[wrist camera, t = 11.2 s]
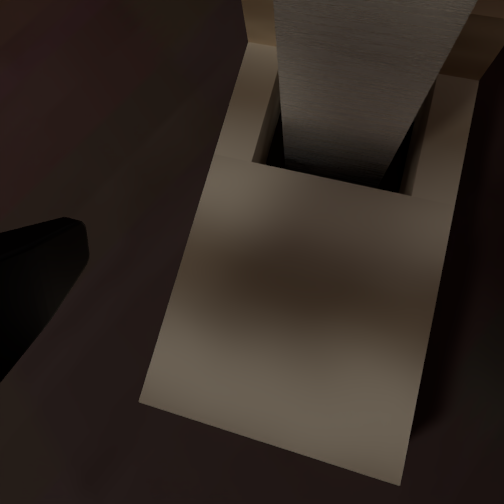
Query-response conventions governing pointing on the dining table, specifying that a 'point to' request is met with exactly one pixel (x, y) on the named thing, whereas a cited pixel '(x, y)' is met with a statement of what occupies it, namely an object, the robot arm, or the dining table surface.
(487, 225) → the dining table surface
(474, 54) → the block
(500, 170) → the dining table surface
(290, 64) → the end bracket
